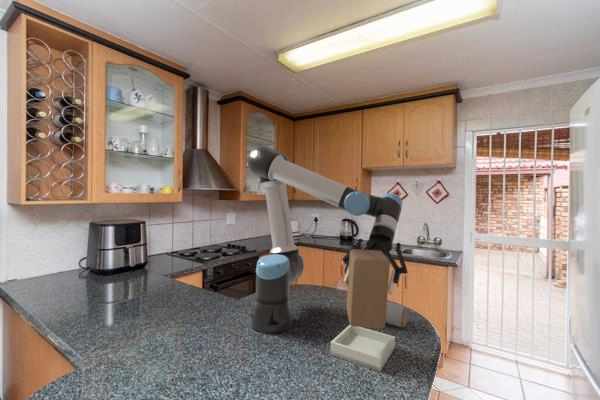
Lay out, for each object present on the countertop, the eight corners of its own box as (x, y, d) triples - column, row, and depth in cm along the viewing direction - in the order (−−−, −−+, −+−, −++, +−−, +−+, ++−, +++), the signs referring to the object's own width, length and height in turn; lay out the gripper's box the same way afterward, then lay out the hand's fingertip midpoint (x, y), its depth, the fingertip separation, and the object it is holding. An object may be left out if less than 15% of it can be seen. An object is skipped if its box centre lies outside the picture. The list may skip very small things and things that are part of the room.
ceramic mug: (403, 331, 99) (404, 309, 99) (379, 325, 104) (380, 303, 104) (411, 321, 107) (411, 301, 107) (389, 316, 112) (390, 296, 112)
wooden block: (378, 311, 90) (382, 249, 87) (385, 330, 80) (391, 261, 77) (346, 309, 90) (349, 248, 88) (349, 327, 80) (353, 259, 78)
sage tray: (330, 354, 83) (330, 342, 83) (349, 334, 96) (350, 324, 96) (380, 371, 75) (380, 358, 75) (394, 348, 88) (394, 336, 88)
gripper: (423, 242, 92) (412, 302, 80) (351, 235, 106) (332, 286, 93) (421, 227, 88) (409, 288, 75) (346, 221, 101) (325, 273, 89)
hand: (366, 287), depth 84 cm, fingers closed on wooden block, 13 cm apart
